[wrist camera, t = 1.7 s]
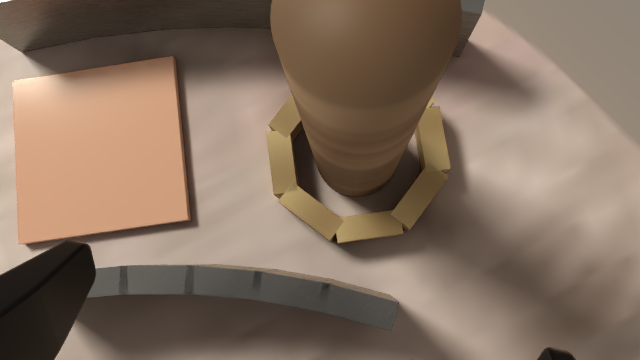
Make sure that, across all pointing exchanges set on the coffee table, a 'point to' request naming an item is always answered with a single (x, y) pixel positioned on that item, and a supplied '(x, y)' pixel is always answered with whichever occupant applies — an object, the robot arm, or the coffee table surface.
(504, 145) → the coffee table surface
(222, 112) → the coffee table surface
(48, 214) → the tile
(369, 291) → the gray curved bar
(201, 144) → the coffee table surface
